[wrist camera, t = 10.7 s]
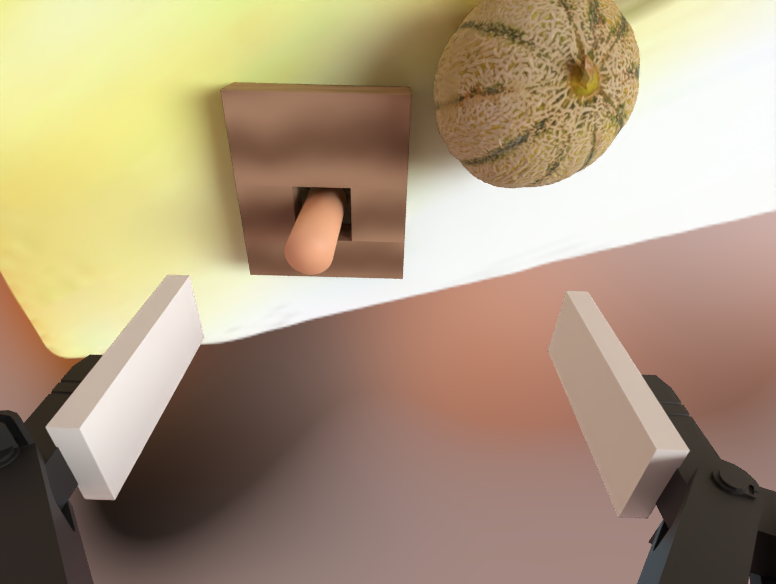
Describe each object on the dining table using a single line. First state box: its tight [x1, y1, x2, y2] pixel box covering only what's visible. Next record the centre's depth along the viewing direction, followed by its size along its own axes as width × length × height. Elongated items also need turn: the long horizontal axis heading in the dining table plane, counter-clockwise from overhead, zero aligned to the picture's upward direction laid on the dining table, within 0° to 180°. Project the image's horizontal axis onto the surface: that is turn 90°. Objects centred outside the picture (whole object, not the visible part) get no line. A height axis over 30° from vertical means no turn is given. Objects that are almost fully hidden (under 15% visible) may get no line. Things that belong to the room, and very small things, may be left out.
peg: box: [284, 187, 347, 275], centre depth 43 cm, size 4×4×12 cm
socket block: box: [221, 82, 411, 279], centre depth 45 cm, size 18×16×4 cm
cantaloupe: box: [434, 0, 640, 188], centre depth 35 cm, size 15×15×15 cm
